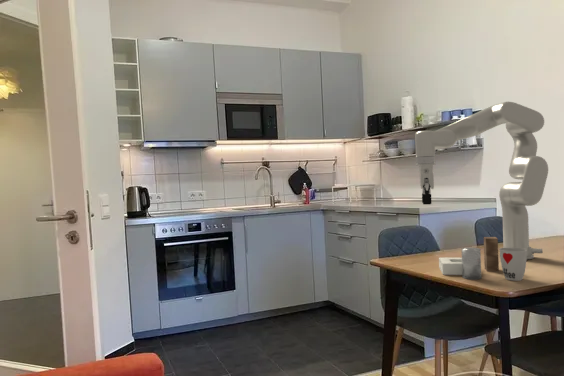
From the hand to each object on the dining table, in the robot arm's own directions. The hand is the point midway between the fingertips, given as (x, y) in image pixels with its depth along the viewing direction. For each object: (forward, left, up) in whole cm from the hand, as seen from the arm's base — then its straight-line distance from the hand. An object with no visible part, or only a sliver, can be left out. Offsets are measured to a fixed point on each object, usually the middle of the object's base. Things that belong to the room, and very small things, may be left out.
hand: (426, 203), depth 176 cm
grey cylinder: (-12, +24, -25) cm, 37 cm away
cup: (-25, +25, -25) cm, 43 cm away
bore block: (-9, +14, -25) cm, 30 cm away
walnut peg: (-21, +11, -25) cm, 34 cm away
